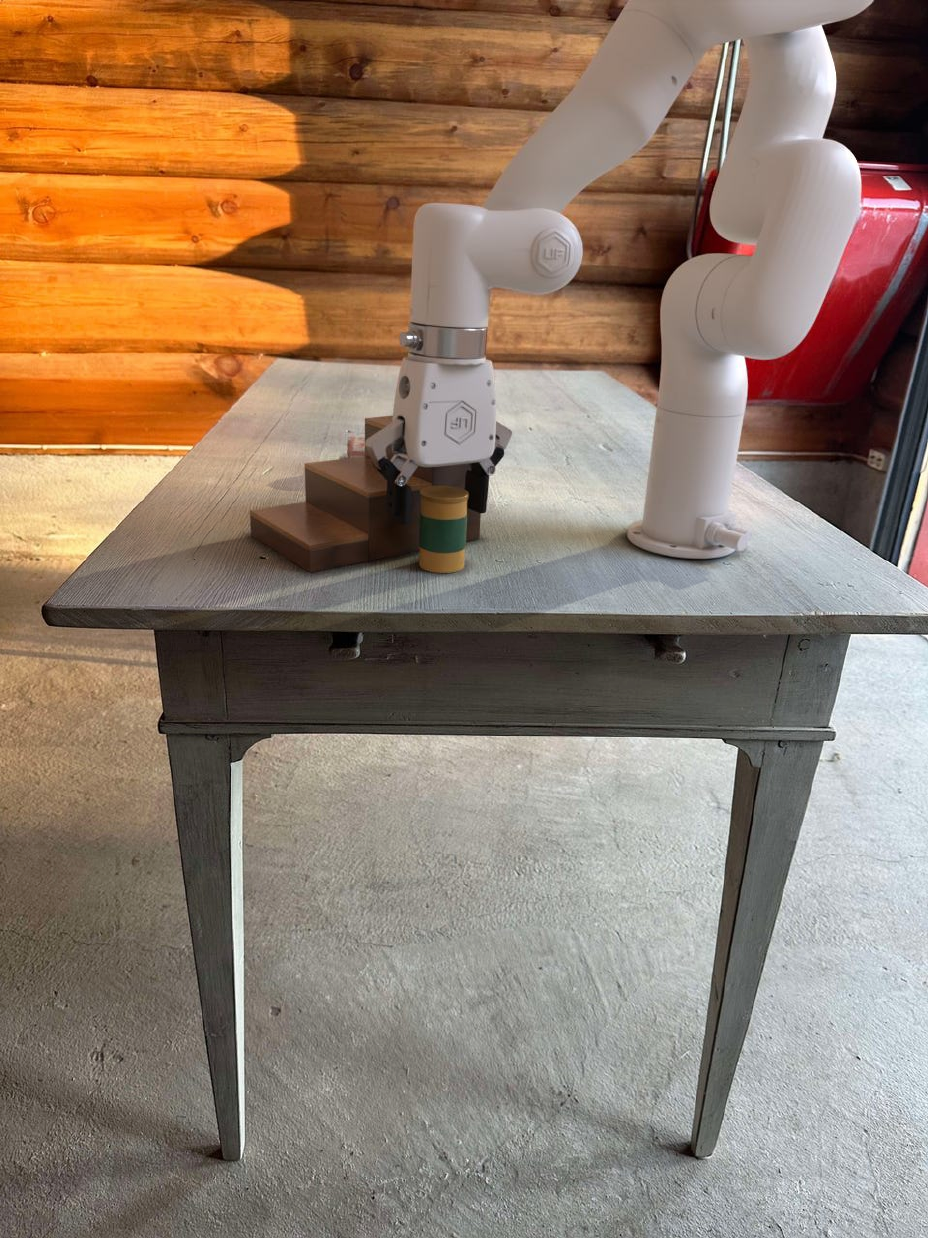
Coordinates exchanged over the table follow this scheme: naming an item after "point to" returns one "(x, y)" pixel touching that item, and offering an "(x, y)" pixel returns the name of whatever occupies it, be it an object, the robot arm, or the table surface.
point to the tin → (443, 528)
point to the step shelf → (351, 512)
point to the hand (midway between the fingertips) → (437, 515)
